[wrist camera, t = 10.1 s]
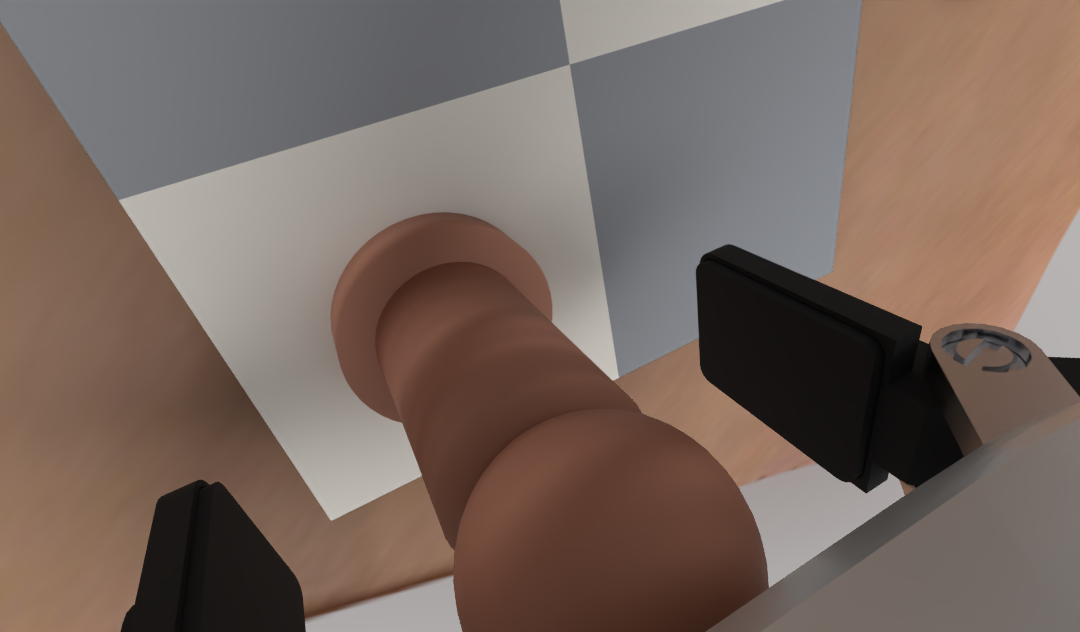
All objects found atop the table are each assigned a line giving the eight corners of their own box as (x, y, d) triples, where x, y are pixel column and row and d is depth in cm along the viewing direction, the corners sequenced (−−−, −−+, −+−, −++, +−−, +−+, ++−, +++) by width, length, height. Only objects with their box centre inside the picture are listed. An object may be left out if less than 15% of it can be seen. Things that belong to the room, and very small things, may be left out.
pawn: (508, 182, 13) (927, 421, 5) (549, 351, 16) (858, 683, 8) (290, 259, 11) (370, 779, 3) (378, 431, 14) (534, 940, 6)
